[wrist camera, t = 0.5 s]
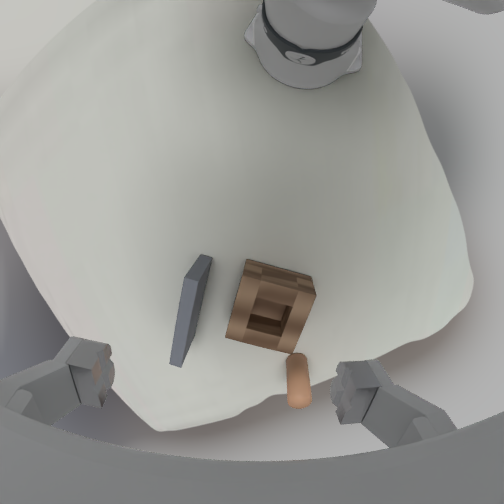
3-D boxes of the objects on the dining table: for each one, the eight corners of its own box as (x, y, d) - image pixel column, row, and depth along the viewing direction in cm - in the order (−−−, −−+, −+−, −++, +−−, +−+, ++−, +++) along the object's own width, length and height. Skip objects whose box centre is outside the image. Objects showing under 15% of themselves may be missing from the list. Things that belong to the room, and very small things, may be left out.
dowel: (290, 351, 55) (292, 390, 44) (309, 355, 55) (315, 394, 44) (283, 366, 56) (284, 406, 46) (302, 370, 56) (306, 410, 46)
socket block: (246, 259, 50) (242, 275, 43) (311, 276, 50) (316, 295, 43) (230, 315, 53) (224, 337, 46) (290, 331, 53) (292, 354, 46)
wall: (200, 254, 50) (184, 277, 41) (212, 257, 50) (198, 281, 41) (184, 331, 55) (169, 364, 46) (194, 335, 55) (181, 367, 46)
